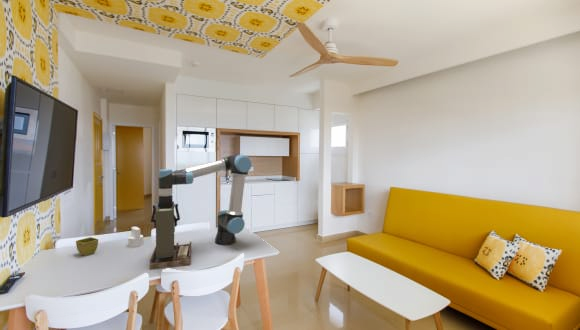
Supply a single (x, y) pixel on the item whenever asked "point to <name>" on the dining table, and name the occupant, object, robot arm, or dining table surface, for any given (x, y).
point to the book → (164, 232)
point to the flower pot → (87, 246)
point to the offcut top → (183, 252)
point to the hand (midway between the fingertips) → (165, 232)
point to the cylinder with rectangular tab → (135, 238)
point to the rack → (171, 263)
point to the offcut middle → (183, 258)
